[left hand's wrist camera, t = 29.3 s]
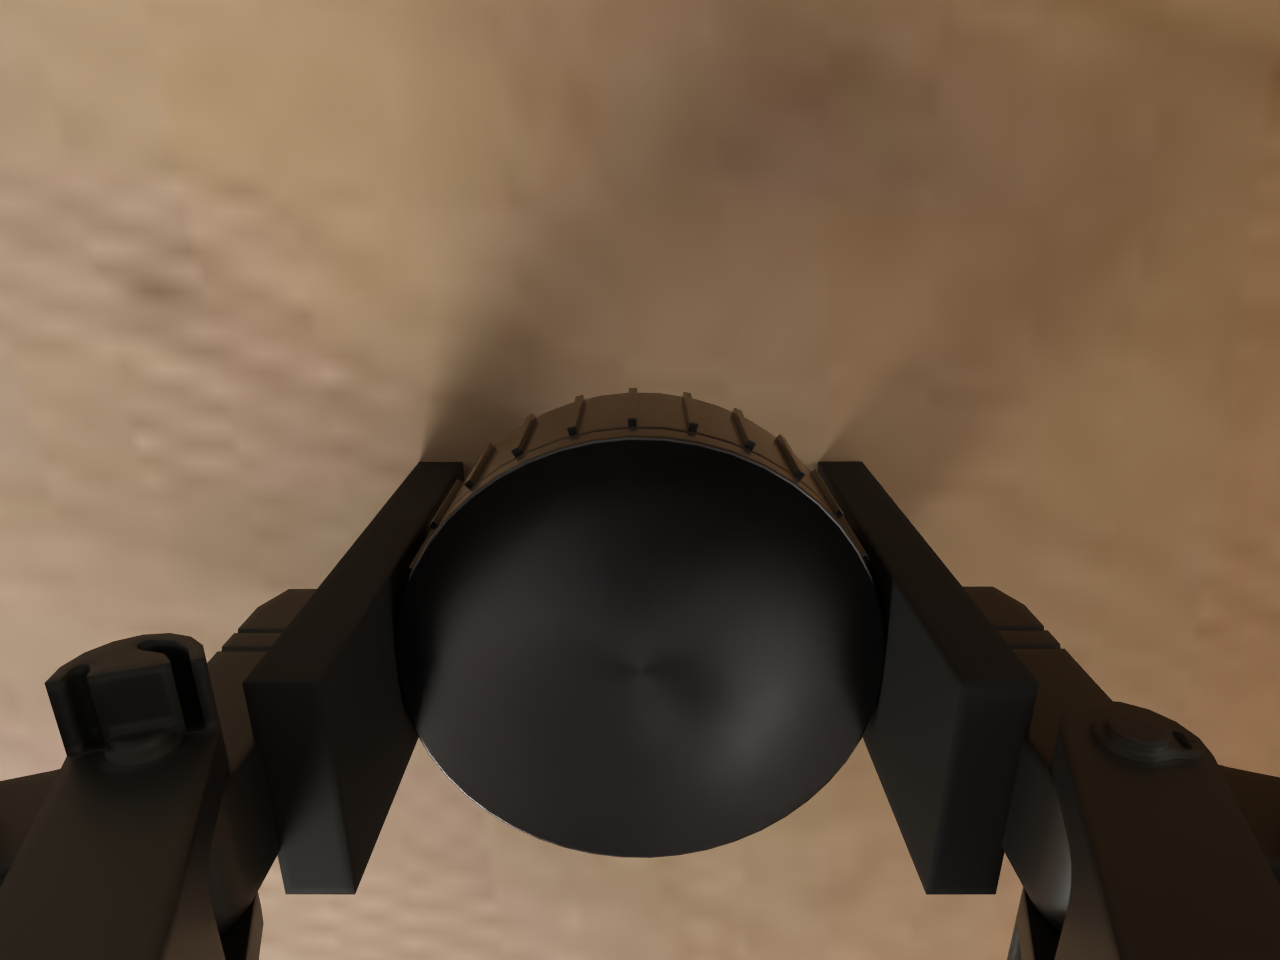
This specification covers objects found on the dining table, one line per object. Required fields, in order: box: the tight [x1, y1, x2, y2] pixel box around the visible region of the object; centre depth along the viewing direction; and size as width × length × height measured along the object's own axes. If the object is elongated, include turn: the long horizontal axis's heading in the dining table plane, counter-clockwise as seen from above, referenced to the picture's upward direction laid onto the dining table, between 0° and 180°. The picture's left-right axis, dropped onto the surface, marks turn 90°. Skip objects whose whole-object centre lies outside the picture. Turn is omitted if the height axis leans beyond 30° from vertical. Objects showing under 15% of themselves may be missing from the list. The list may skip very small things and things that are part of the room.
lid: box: [395, 388, 885, 858], centre depth 11 cm, size 6×6×2 cm
